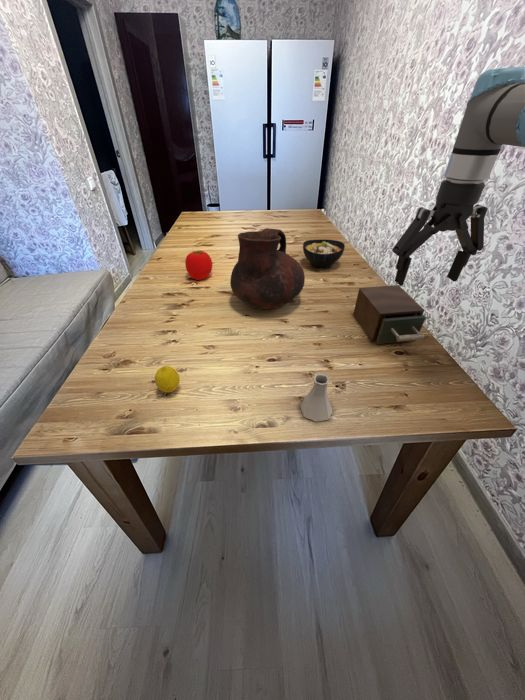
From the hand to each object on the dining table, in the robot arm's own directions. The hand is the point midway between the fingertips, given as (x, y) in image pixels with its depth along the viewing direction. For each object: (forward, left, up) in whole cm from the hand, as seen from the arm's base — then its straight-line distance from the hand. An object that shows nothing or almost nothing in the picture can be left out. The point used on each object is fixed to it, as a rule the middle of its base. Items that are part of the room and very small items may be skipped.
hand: (425, 281), depth 69 cm
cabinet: (+9, -4, -20) cm, 23 cm away
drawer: (+5, -1, -19) cm, 20 cm away
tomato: (+76, +25, -20) cm, 82 cm away
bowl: (+53, -22, -20) cm, 61 cm away
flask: (-1, +36, -20) cm, 41 cm away
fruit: (+25, +60, -20) cm, 68 cm away
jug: (+44, +15, -20) cm, 50 cm away
